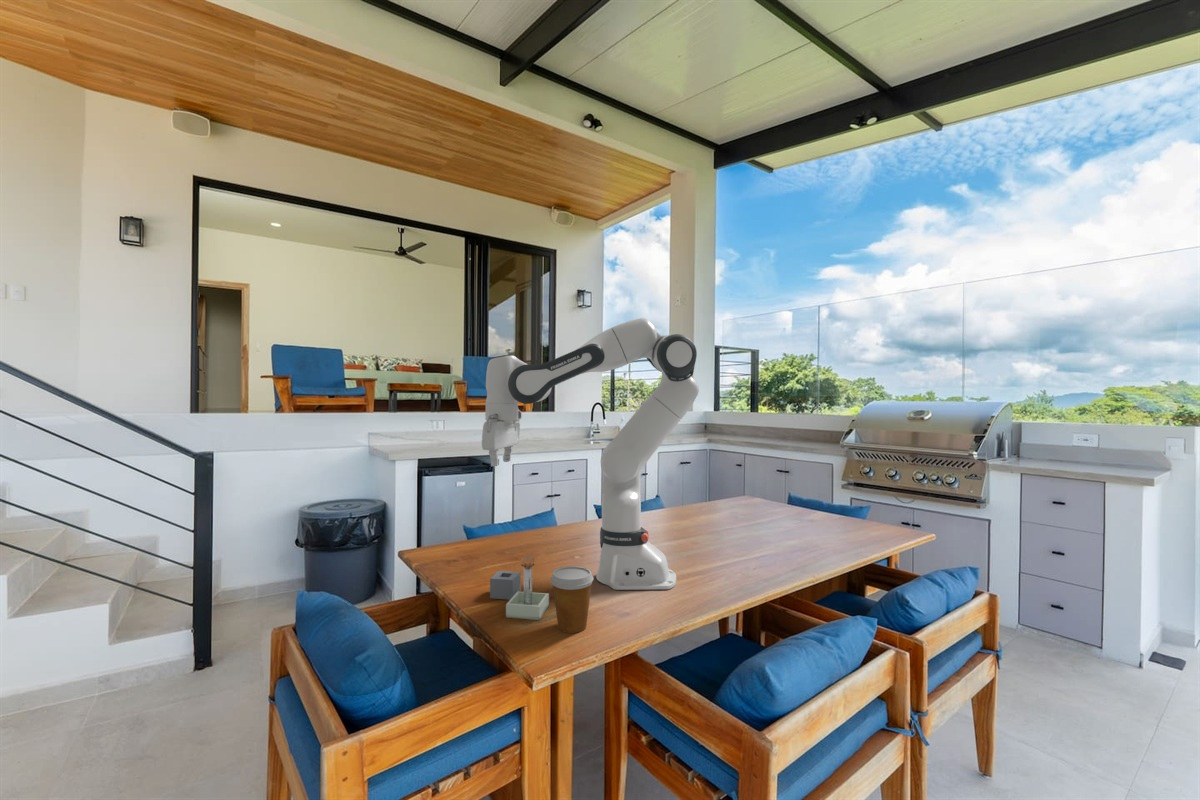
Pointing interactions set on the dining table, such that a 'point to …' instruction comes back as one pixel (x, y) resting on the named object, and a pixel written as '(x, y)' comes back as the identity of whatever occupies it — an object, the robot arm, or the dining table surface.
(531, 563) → the pin
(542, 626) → the dining table surface
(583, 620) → the disposable coffee cup
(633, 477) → the robot arm
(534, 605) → the tray
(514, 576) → the pin block
